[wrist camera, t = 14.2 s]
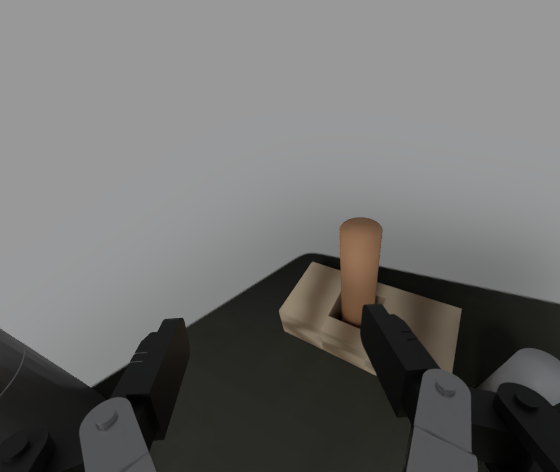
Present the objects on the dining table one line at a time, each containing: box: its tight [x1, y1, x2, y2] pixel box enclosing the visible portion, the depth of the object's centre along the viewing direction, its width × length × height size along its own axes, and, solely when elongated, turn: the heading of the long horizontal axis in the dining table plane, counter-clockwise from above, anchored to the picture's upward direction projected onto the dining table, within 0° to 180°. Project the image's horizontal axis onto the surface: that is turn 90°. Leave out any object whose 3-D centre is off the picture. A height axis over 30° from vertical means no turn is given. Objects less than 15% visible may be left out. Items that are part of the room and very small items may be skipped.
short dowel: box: [477, 348, 560, 406], centre depth 25 cm, size 4×4×9 cm
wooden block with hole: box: [279, 262, 462, 376], centre depth 35 cm, size 20×10×5 cm, turn 58°
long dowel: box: [340, 218, 382, 329], centre depth 32 cm, size 4×4×18 cm
